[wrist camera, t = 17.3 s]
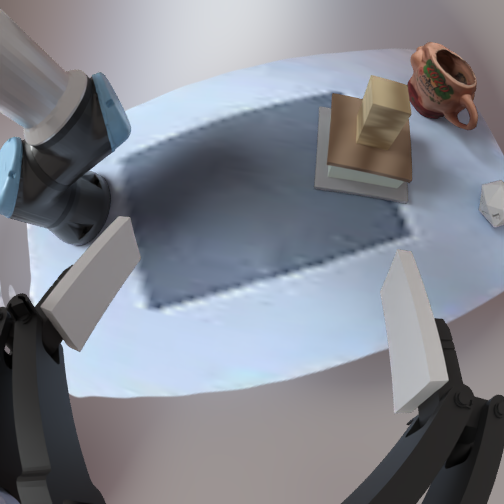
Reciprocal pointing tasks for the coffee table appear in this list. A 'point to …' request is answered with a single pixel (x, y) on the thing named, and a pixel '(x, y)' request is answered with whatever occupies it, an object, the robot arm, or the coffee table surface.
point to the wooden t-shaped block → (372, 131)
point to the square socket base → (351, 172)
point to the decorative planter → (442, 85)
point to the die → (493, 202)
